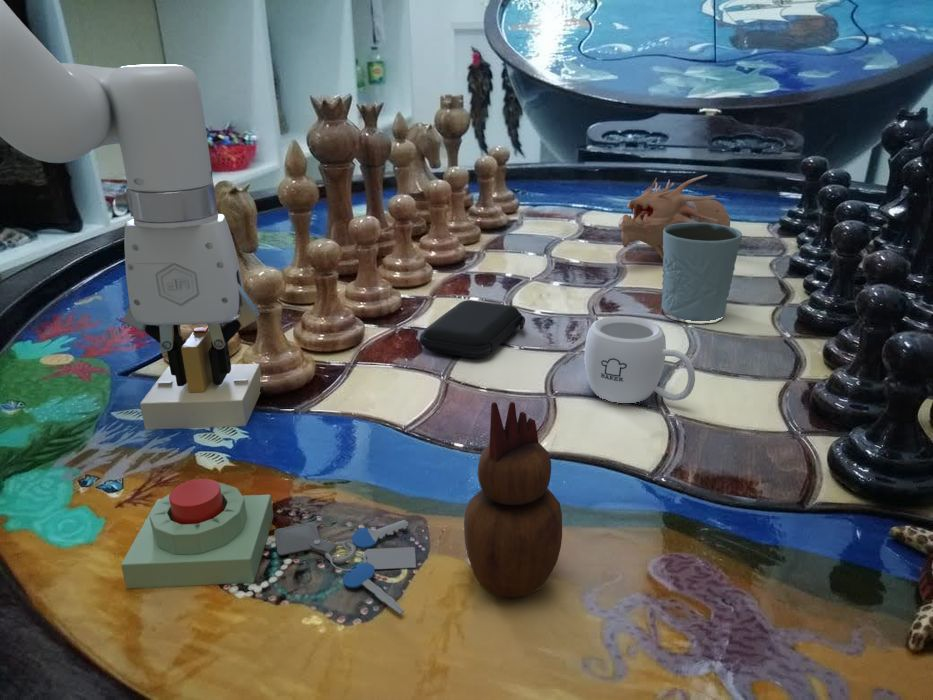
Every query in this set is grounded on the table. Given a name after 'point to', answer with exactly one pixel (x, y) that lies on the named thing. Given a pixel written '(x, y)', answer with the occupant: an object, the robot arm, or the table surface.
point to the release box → (200, 545)
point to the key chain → (352, 553)
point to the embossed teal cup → (698, 269)
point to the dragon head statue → (667, 214)
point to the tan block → (197, 359)
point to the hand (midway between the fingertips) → (202, 378)
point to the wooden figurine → (513, 510)
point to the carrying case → (472, 329)
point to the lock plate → (203, 401)
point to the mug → (629, 360)
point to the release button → (196, 501)
